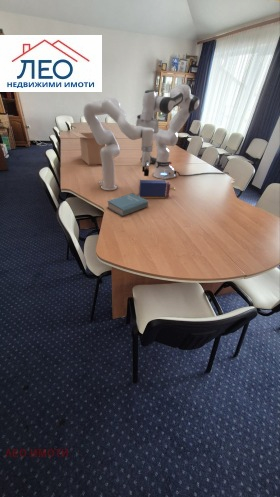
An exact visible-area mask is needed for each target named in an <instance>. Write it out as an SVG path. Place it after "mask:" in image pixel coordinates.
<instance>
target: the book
mask: <svg viewBox="0 0 280 497" xmlns="http://www.w3.org/2000/svg"><path fill="white" fill-rule="evenodd" d="M146 207H149V200H148V199H147V198H142V197H140V196H139V195H137V194H135V193H133V192H131V193H129V194H125V195H122V196H119V197H115V198H112V199H109V200H107V208H108V209H109V210H111V211H112V212H115V213H116V214H117V215H119V216H121V217H124V216H126V215H129V214H132V213H134V212H137V211H140V210H142V209H144V208H146Z"/></svg>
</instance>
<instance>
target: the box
mask: <svg viewBox="0 0 280 497" xmlns="http://www.w3.org/2000/svg"><path fill="white" fill-rule="evenodd" d="M70 133H71V134H72V135H74V136H75V137H77V138H79V144H80V153H81V160H83V162H85V163H86V165H87V166H95V165H97V166H98V165H102V160H101V155H100V151H101V149H102V148H103V147H105V146H106V144H105V145H99V144H98V143H97V142H96V140H95V138H94V136H93V133H92V131H91V130H77V132H76V131H70Z"/></svg>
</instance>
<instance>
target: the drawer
mask: <svg viewBox="0 0 280 497" xmlns="http://www.w3.org/2000/svg"><path fill="white" fill-rule="evenodd" d="M166 183H167V186H166V194H165V197H167V198H169V196H170V191H177V189H176V188H175V187H171V183H170V181H166Z"/></svg>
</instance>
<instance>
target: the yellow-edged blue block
mask: <svg viewBox="0 0 280 497" xmlns="http://www.w3.org/2000/svg"><path fill="white" fill-rule="evenodd" d="M166 188H167V181H166V180H165V179H162V180H158V179H139V186H138V196H140V197H142V198H144V199H166Z"/></svg>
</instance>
